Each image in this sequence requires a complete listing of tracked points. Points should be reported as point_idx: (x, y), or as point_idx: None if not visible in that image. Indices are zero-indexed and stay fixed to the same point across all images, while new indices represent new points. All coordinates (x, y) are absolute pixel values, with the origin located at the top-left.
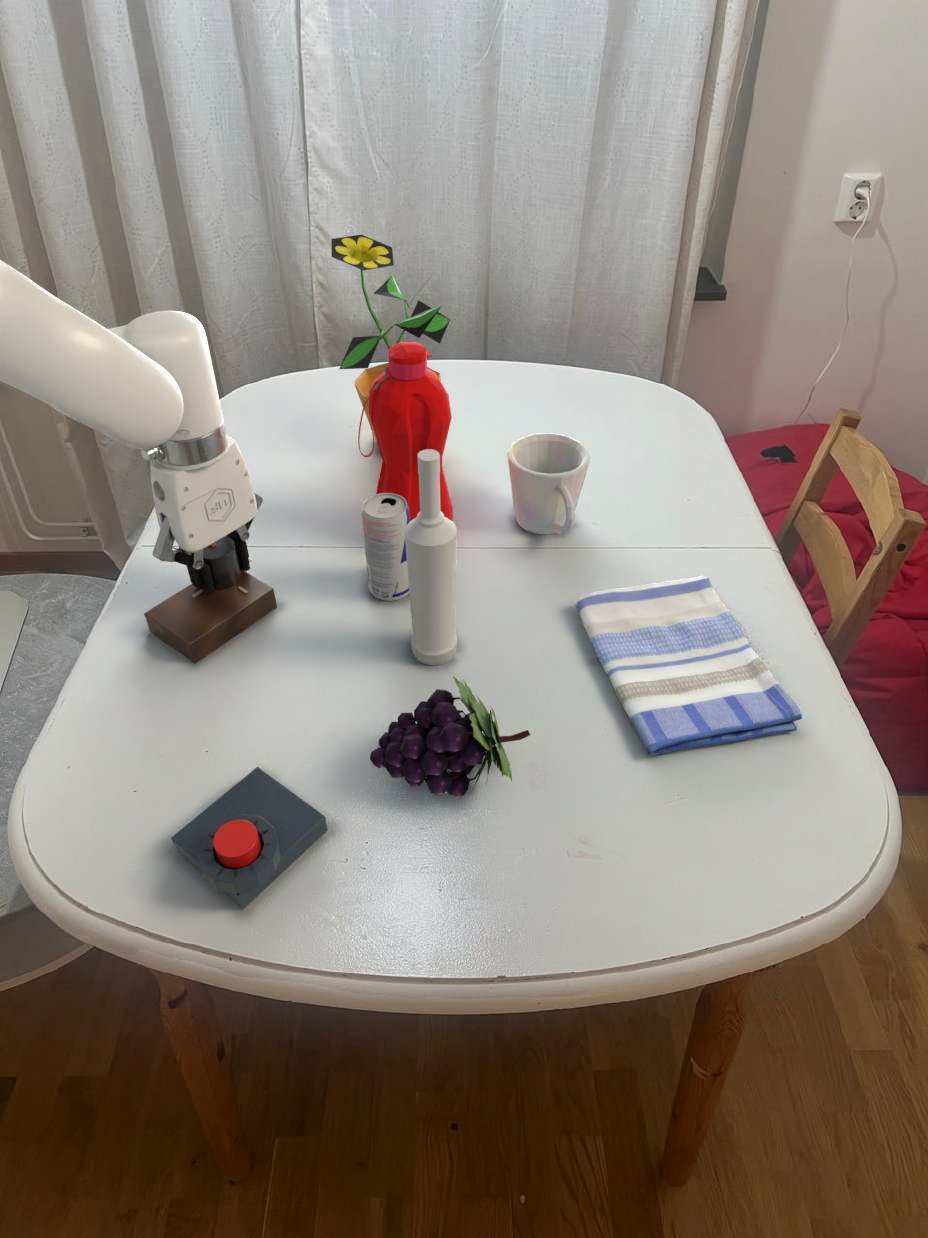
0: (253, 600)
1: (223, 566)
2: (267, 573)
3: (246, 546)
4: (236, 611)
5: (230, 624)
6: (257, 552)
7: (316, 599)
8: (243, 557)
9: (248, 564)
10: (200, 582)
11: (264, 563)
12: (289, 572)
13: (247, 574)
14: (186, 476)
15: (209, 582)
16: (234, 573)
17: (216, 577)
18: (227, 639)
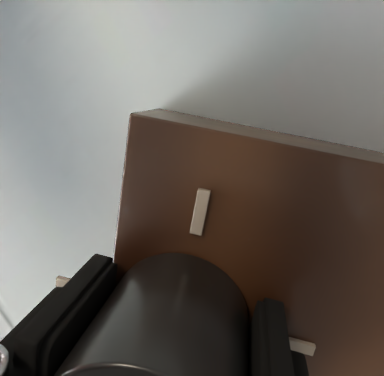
0: (230, 138)
1: (202, 338)
2: (59, 226)
3: (24, 321)
4: (320, 158)
5: (361, 154)
6: (14, 295)
7: (63, 17)
8: (81, 296)
9: (89, 265)
10: (298, 368)
11: (34, 256)
12: (21, 174)
13: (121, 248)
14: None
15: (281, 336)
16: (170, 278)
17: (237, 328)
18: (369, 150)
